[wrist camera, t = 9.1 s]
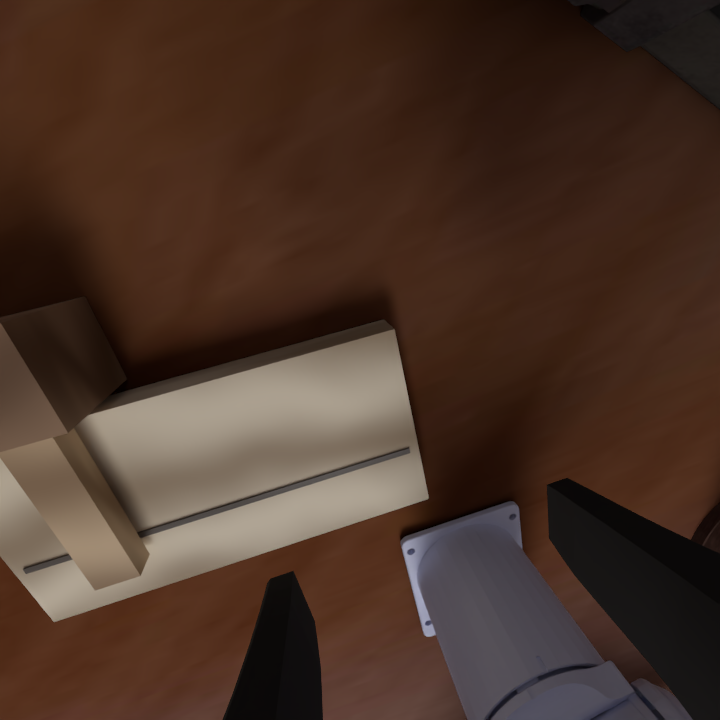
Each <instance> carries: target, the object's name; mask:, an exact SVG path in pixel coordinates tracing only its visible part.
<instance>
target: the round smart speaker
mask: <svg viewBox="0 0 720 720" xmlns="http://www.w3.org/2000/svg"><path fill="white" fill-rule="evenodd" d="M691 541H693V542H696V543H698V544H700V545H702V546H705V547H707V548H709V549H711V550H713V551H716V552H718V553H720V503H719V504H718V505H717V506H715V508H714V509H713V510H712V511H711V512H710V513H709V514H708V515H707V516H706V517H705V518H704V520H703V521H702V523H701V524H700V525H699V527H698V528H697V530H696V532H695V533H694V535H693V537H692V539H691Z"/></svg>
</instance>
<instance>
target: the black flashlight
mask: <svg viewBox="0 0 720 720" xmlns="http://www.w3.org/2000/svg"><path fill="white" fill-rule="evenodd" d="M567 1H569V2H570V3H571V4H573V5H574V6H579V5H584V7H583V9H582V11H581V17H582V18H584V19H585V20H586V21H588V22H589V23H590V24H591V25H593V26H594V27H595V28H597V29H598V30H599V31H600V32H602V33H603V34H604V35H605V36H607V37H608V38H609V39H611V40H612V41H613V42H615V43H616V44H617V45H618V46H620V47H621V48H622V49H624V50H625V51H626V52H628V51H630V50H633V49H635V48H637V47H639V46H641V47H642V48H644V49H645V50H646V51H647V52H649V53H650V54H651V55H652V56H654V57H655V58H656V59H657V60H659V61H660V62H661V63H662V64H664V65H665V66H666V67H667V68H669V69H670V70H671V71H672V72H674V73H675V74H676V75H677V76H679V77H680V78H681V79H682V80H684V81H685V82H686V83H687V84H689V85H690V86H691V87H692V88H694V89H695V90H696V91H697V92H699V93H700V94H701V95H702V96H704V97H705V98H706V99H707V100H709V101H710V102H711V103H712V104H714V105H715V106H716V107H717V108H719V109H720V0H567Z"/></svg>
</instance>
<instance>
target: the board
mask: <svg viewBox="0 0 720 720" xmlns="http://www.w3.org/2000/svg"><path fill="white" fill-rule="evenodd" d="M74 429H75V431H76V432H77V434H78V436H79V437H80V439H81V441H82V442H83V444H84V446H85V447H86V449H87V451H88V452H89V454H90V456H91V457H92V459H93V461H94V462H95V464H96V466H97V467H98V469H99V471H100V472H101V474H102V475H103V477H104V479H105V480H106V482H107V484H108V485H109V487H110V489H111V490H112V492H113V494H114V495H115V497H116V499H117V500H118V502H119V504H120V505H121V507H122V509H123V510H124V512H125V514H126V515H127V517H128V519H129V520H130V522H131V524H132V525H133V527H134V529H135V530H136V532H137V534H138V535H139V537H140V539H141V540H142V542H143V543H144V545H145V547H146V548H147V550H148V552H149V553H150V555H149V558H148V560H147V562H146V565H145V567H144V569H143V572H142V574H141V576H139V577H136V578H133V579H130V580H127V581H123V582H120V583H117V584H114V585H111V586H108V587H105V588H102V589H99V590H96V591H95V590H94V588H93V587H92V586H91V584H90V583H89V581H88V580H87V579H86V577H85V576H84V574H83V573H82V572H81V570H80V569H79V567H78V566H77V565H76V563H75V562H74V560H73V559H72V558H71V556H70V555H69V553H68V552H67V551H66V549H65V548H64V546H63V545H62V544H61V542H60V541H59V539H58V538H57V537H56V535H55V534H54V533H53V531H52V530H51V528H50V527H49V526H48V524H47V523H46V521H45V520H44V519H43V517H42V516H41V514H40V513H39V512H38V510H37V509H36V507H35V506H34V505H33V503H32V502H31V500H30V499H29V498H28V496H27V495H26V493H25V492H24V491H23V489H22V488H21V486H20V485H19V484H18V482H17V481H16V479H15V478H14V477H13V475H12V474H11V472H10V471H9V470H8V468H7V467H6V465H5V464H4V463H3V461H2V460H1V458H0V556H1V558H2V559H3V560H4V561H5V563H6V564H7V565H8V566H9V567H10V569H11V570H12V571H13V572H14V574H15V575H16V576H17V577H18V578H19V580H20V581H21V582H22V583H23V585H24V586H25V587H26V588H27V590H28V591H29V592H30V593H31V594H32V596H33V597H34V598H35V599H36V601H37V602H38V603H39V604H40V605H41V607H42V608H43V609H44V610H45V612H46V613H47V614H48V615H49V616H50V618H51V619H52V620H53V621H54V622H56V621H59V620H62V619H65V618H68V617H71V616H74V615H77V614H80V613H83V612H86V611H89V610H92V609H95V608H98V607H101V606H104V605H107V604H111V603H114V602H117V601H120V600H123V599H126V598H129V597H132V596H135V595H138V594H141V593H144V592H147V591H150V590H153V589H156V588H159V587H162V586H165V585H168V584H171V583H174V582H177V581H180V580H183V579H187V578H190V577H193V576H196V575H199V574H202V573H205V572H208V571H211V570H214V569H217V568H220V567H223V566H226V565H229V564H232V563H235V562H238V561H241V560H244V559H247V558H250V557H253V556H256V555H259V554H262V553H266V552H269V551H272V550H275V549H278V548H281V547H284V546H287V545H290V544H293V543H296V542H299V541H302V540H305V539H308V538H311V537H314V536H317V535H320V534H323V533H326V532H329V531H332V530H335V529H338V528H342V527H345V526H348V525H351V524H354V523H357V522H360V521H363V520H366V519H369V518H372V517H375V516H378V515H381V514H384V513H387V512H390V511H393V510H396V509H399V508H402V507H405V506H408V505H411V504H414V503H417V502H421V501H424V500H427V499H429V496H428V491H427V486H426V481H425V476H424V472H423V467H422V462H421V457H420V452H419V447H418V442H417V437H416V432H415V427H414V422H413V417H412V413H411V408H410V403H409V398H408V393H407V388H406V383H405V378H404V373H403V368H402V363H401V358H400V354H399V349H398V344H397V339H396V334H395V329H394V328H393V327H392V326H391V325H389V324H388V323H387V322H386V321H385V320H384V319H383V320H380V321H376V322H372V323H369V324H365V325H362V326H358V327H354V328H351V329H347V330H344V331H340V332H336V333H333V334H329V335H326V336H322V337H318V338H315V339H311V340H308V341H304V342H300V343H297V344H293V345H290V346H286V347H282V348H279V349H275V350H272V351H268V352H264V353H261V354H257V355H253V356H250V357H246V358H243V359H239V360H235V361H232V362H228V363H225V364H221V365H217V366H214V367H210V368H207V369H203V370H199V371H196V372H192V373H189V374H185V375H181V376H178V377H174V378H171V379H167V380H163V381H160V382H156V383H153V384H149V385H145V386H142V387H138V388H135V389H131V390H127V391H124V392H120V393H117V394H113V395H109V396H108V397H107V398H106V399H105V400H104V401H103V402H102V403H100V404H99V405H98V406H97V407H96V408H95V409H94V410H93V411H92V412H91V413H90V414H88V415H87V416H86V417H85V418H84V419H83V420H82V421H81V422H80V423H79V424H78V425H76V426H75V427H74Z"/></svg>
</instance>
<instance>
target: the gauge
mask: <svg viewBox="0 0 720 720" xmlns="http://www.w3.org/2000/svg"><path fill="white" fill-rule="evenodd" d="M126 380H127V377H126V375H125V374H124V372H123V370H122V368H121V366H120V364H119V362H118V360H117V358H116V356H115V354H114V352H113V350H112V348H111V346H110V344H109V342H108V340H107V338H106V336H105V334H104V332H103V330H102V328H101V326H100V324H99V323H98V321H97V319H96V317H95V315H94V313H93V311H92V309H91V307H90V305H89V303H88V301H87V299H86V297H85V296H84V297H80V298H76V299H72V300H68V301H64V302H60V303H56V304H52V305H47V306H43V307H39V308H35V309H31V310H27V311H23V312H19V313H15V314H11V315H7V316H3V317H0V458H1V460H2V461H3V463H4V464H5V465H6V467H7V468H8V470H9V471H10V472H11V474H12V475H13V477H14V478H15V479H16V481H17V482H18V484H19V485H20V486H21V488H22V489H23V491H24V492H25V493H26V495H27V496H28V498H29V499H30V500H31V502H32V503H33V505H34V506H35V507H36V509H37V510H38V512H39V513H40V514H41V516H42V517H43V519H44V520H45V521H46V523H47V524H48V526H49V527H50V528H51V530H52V531H53V533H54V534H55V535H56V537H57V538H58V539H59V541H60V542H61V544H62V545H63V546H64V548H65V549H66V551H67V552H68V553H69V555H70V556H71V558H72V559H73V560H74V562H75V563H76V565H77V566H78V567H79V569H80V570H81V572H82V573H83V574H84V576H85V577H86V579H87V580H88V581H89V583H90V584H91V586H92V587H93V588H94V590H95V591H96V590H99V589H102V588H105V587H108V586H111V585H114V584H117V583H120V582H123V581H127V580H130V579H133V578H136V577H139V576H141V574H142V572H143V569H144V567H145V565H146V562H147V560H148V558H149V555H150V553H149V552H148V550H147V548H146V547H145V545H144V543H143V542H142V540H141V539H140V537H139V535H138V534H137V532H136V530H135V529H134V527H133V525H132V524H131V522H130V520H129V519H128V517H127V515H126V514H125V512H124V510H123V509H122V507H121V505H120V504H119V502H118V500H117V499H116V497H115V495H114V494H113V492H112V490H111V489H110V487H109V485H108V484H107V482H106V480H105V479H104V477H103V475H102V474H101V472H100V471H99V469H98V467H97V466H96V464H95V462H94V461H93V459H92V457H91V456H90V454H89V452H88V451H87V449H86V447H85V446H84V444H83V442H82V441H81V439H80V437H79V436H78V434H77V432H76V431H75V429H74V427H75V426H76V425H78V424H79V423H80V422H81V421H82V420H83V419H84V418H85V417H86V416H87V415H88V414H90V413H91V412H92V411H93V410H94V409H95V408H96V407H97V406H98V405H99V404H100V403H102V402H103V401H104V400H105V399H106V398H107V397H108V396H109V395H110V394H111V393H112V392H114V391H115V390H116V389H117V388H118V387H119V386H120V385H121V384H122V383H123V382H124V381H126Z"/></svg>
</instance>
